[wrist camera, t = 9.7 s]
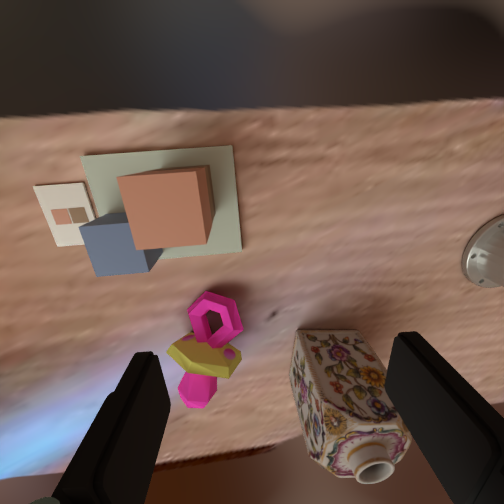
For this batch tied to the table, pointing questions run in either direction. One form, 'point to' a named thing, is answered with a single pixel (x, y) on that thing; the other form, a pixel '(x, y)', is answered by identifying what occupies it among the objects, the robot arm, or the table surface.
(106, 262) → the blue-gray block
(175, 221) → the terracotta block
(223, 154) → the board
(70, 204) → the tile
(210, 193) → the walnut block
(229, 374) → the toy
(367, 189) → the table surface
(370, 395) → the decorative jar
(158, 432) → the robot arm
